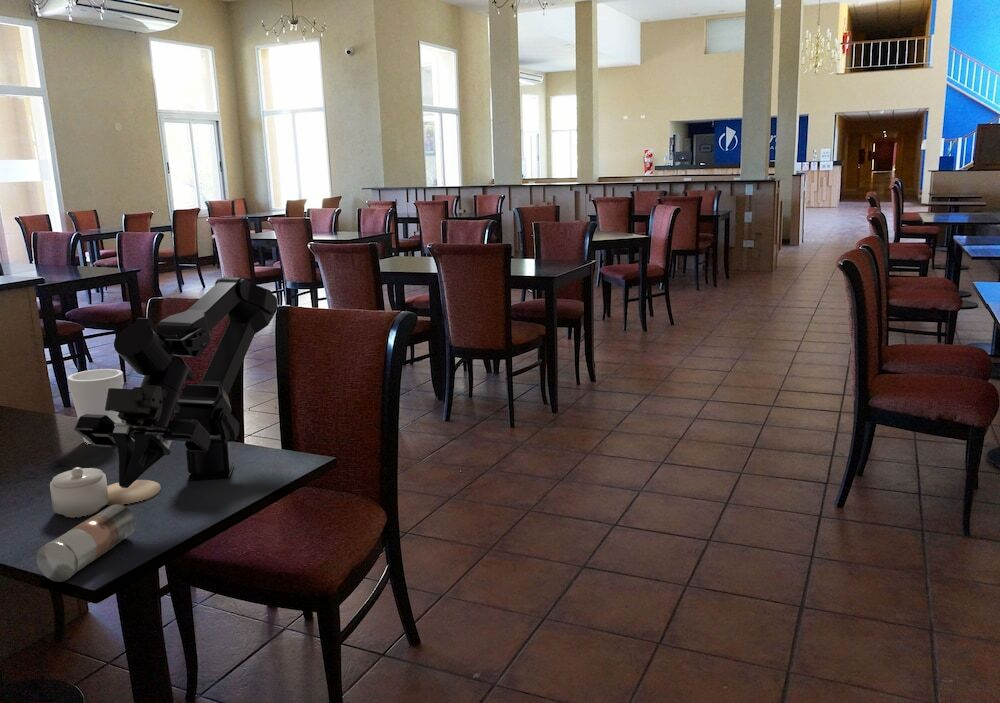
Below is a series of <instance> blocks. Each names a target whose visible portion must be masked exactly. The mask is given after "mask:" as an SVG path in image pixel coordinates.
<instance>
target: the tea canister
mask: <svg viewBox="0 0 1000 703" xmlns="http://www.w3.org/2000/svg"><path fill="white" fill-rule="evenodd" d="M135 529H136V519H135V516H134V514H133V512H132V511H131V510H130V509H129V508H127V506H126V505H119V504H114V505H111V506H107V507H106V508H104V509H103V510H101V511H98V513H95V515H94V514H93V516H91V517H89V518H87V519H85V520H84V521H82V522H81V523H79V524H77V525H76V526H74V527H73V528H71V529H70V530H68V531H66V532H65V533H63V534H62V535H59V536H58V537H57V538H55V539H54V540H52V541H49V542H47V543H46V544H44V545H42V546H41V547H39V549H38V551H37V555H36V563H37V567H38V569H39V571H40V572H41V573H42V574H43V576H44V577H46V578H47V579H49V580H50V581H53V582H58V583H61V582H65V581H68V580H69V579H70V578H71V577H73V576H74V575H75V574H76V573H78V572H79V571H81V570H82V569H83V568H85V567H86V566H88V565H89V564H91V563H92V562H94V561H95V560H97V559H98V558H100V557H101V556H103V555H104V554H106V553H107V552H109V551H110V550H112V549H113V548H114V547H115V546H117V545H119V543H121V542H122V541H124V540H126V539H127V538H129V537H131V535H132V534H134V532H135Z"/></svg>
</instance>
